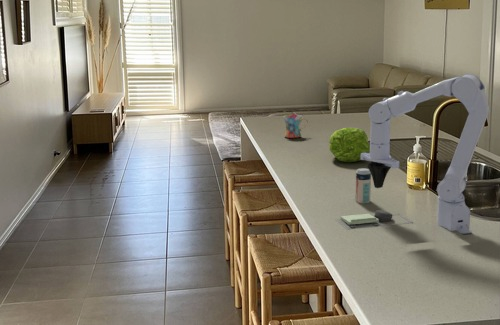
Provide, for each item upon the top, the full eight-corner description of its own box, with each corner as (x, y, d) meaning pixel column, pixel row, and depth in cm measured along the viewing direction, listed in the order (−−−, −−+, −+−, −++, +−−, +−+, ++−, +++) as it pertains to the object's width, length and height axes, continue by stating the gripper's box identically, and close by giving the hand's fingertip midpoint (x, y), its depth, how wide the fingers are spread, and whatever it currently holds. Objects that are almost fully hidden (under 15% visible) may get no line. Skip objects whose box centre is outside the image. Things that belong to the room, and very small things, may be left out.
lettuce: (360, 153, 289) (355, 121, 287) (377, 159, 265) (371, 124, 263) (323, 161, 287) (317, 129, 285) (336, 167, 263) (330, 132, 261)
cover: (378, 221, 188) (378, 217, 187) (349, 224, 186) (349, 220, 185) (368, 216, 194) (368, 212, 194) (340, 218, 192) (340, 214, 192)
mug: (284, 139, 319) (284, 117, 317) (282, 135, 328) (282, 114, 326) (308, 138, 320) (308, 117, 318) (306, 135, 329) (306, 114, 327)
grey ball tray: (413, 227, 188) (413, 221, 188) (346, 234, 184) (346, 227, 183) (399, 218, 197) (399, 212, 196) (335, 224, 192) (335, 218, 192)
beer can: (359, 202, 214) (360, 167, 211) (372, 204, 211) (373, 169, 208) (352, 205, 210) (353, 169, 207) (365, 208, 207) (366, 172, 204)
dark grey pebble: (393, 224, 190) (395, 216, 190) (379, 222, 188) (381, 214, 188) (384, 218, 195) (386, 211, 194) (370, 217, 193) (372, 209, 193)
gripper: (407, 145, 188) (405, 190, 191) (373, 137, 200) (372, 180, 203) (389, 148, 184) (388, 194, 187) (355, 140, 196) (354, 183, 199)
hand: (378, 187), depth 195 cm, fingers closed
